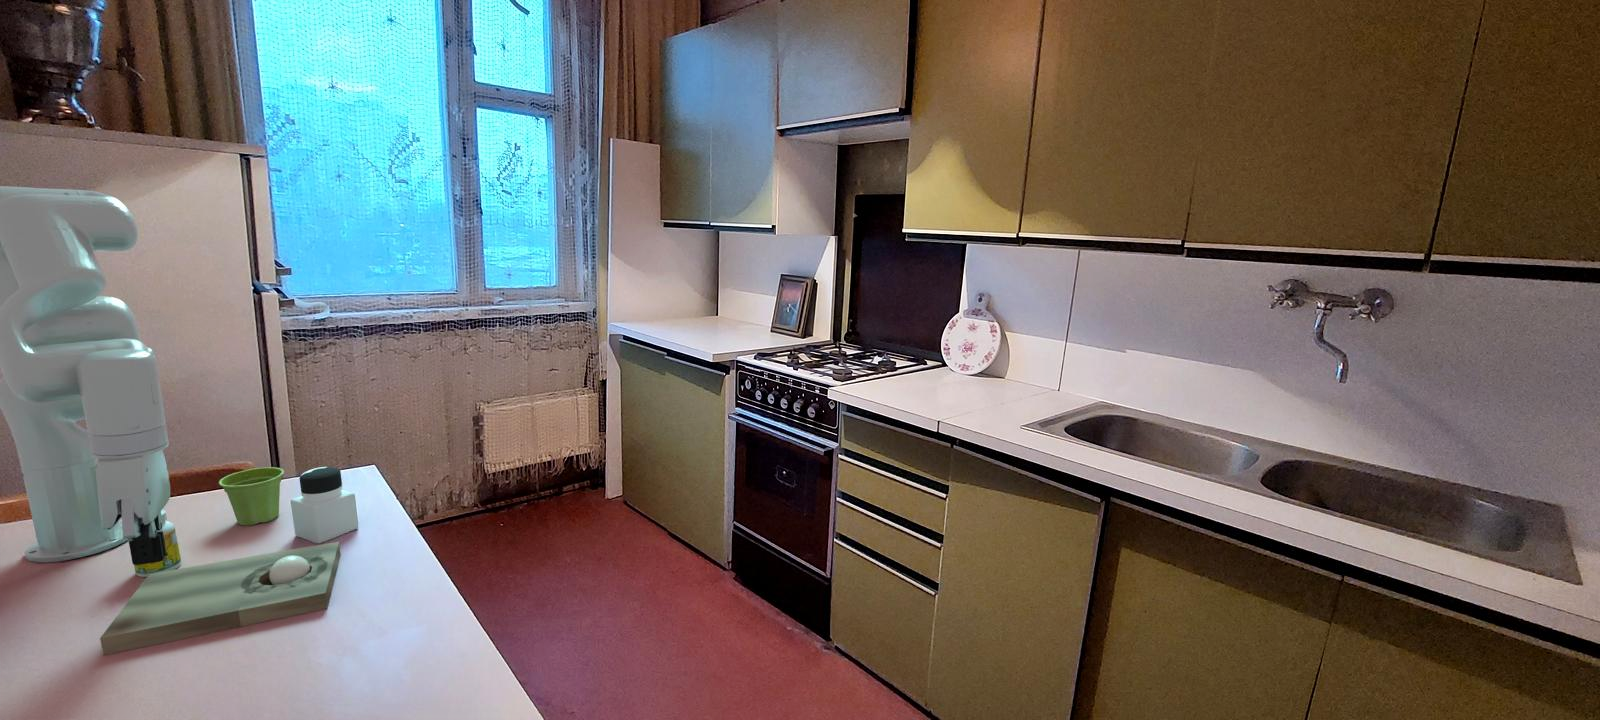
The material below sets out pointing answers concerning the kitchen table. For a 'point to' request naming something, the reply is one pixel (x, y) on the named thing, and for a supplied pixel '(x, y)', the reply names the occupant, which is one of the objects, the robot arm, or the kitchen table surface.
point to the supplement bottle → (172, 552)
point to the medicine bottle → (323, 506)
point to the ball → (288, 570)
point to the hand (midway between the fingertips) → (150, 560)
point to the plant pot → (254, 494)
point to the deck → (220, 598)
